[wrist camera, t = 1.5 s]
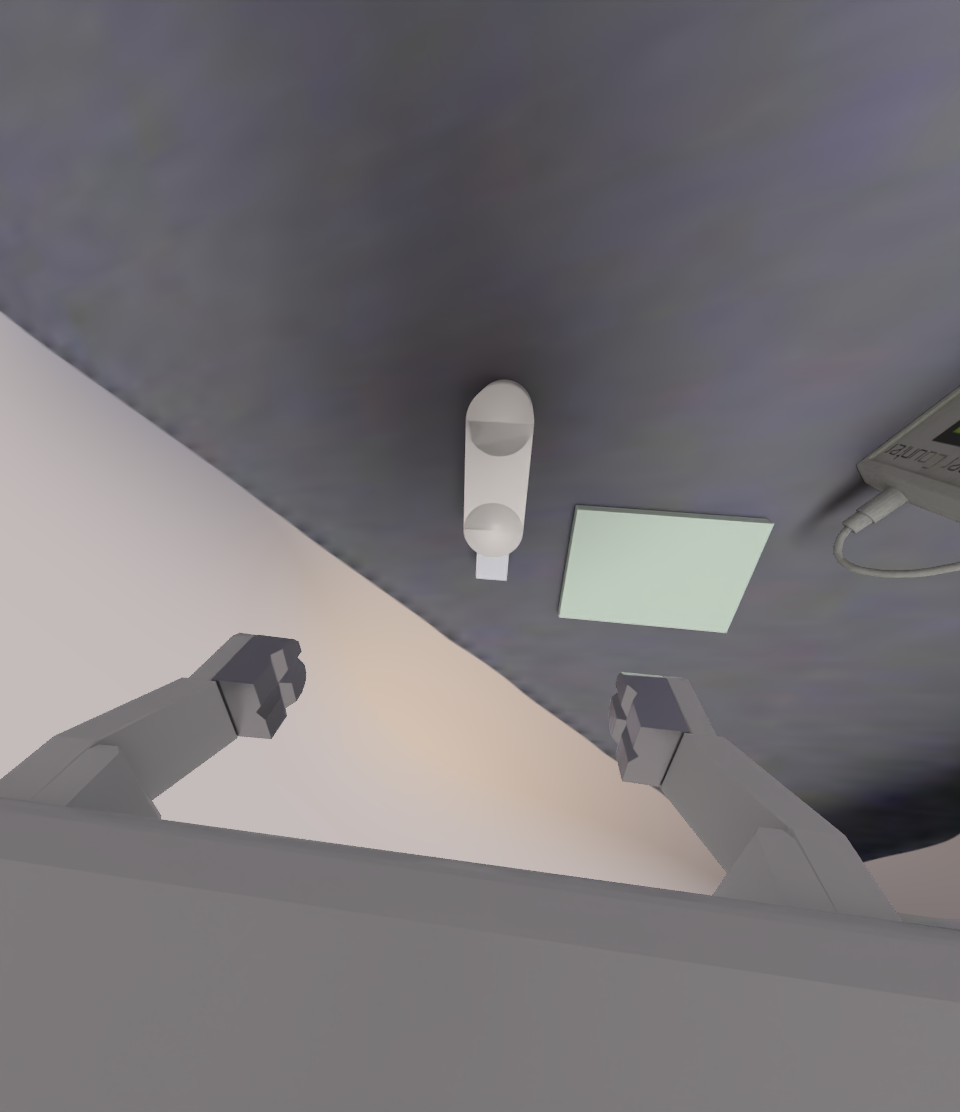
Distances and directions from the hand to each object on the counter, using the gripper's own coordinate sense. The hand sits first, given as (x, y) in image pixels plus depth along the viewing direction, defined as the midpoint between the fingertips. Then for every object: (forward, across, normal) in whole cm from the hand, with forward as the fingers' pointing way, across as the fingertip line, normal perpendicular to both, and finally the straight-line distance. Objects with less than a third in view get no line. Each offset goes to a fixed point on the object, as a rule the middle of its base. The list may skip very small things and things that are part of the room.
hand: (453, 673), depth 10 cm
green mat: (+21, -13, +8) cm, 26 cm away
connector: (+21, 0, +1) cm, 21 cm away
